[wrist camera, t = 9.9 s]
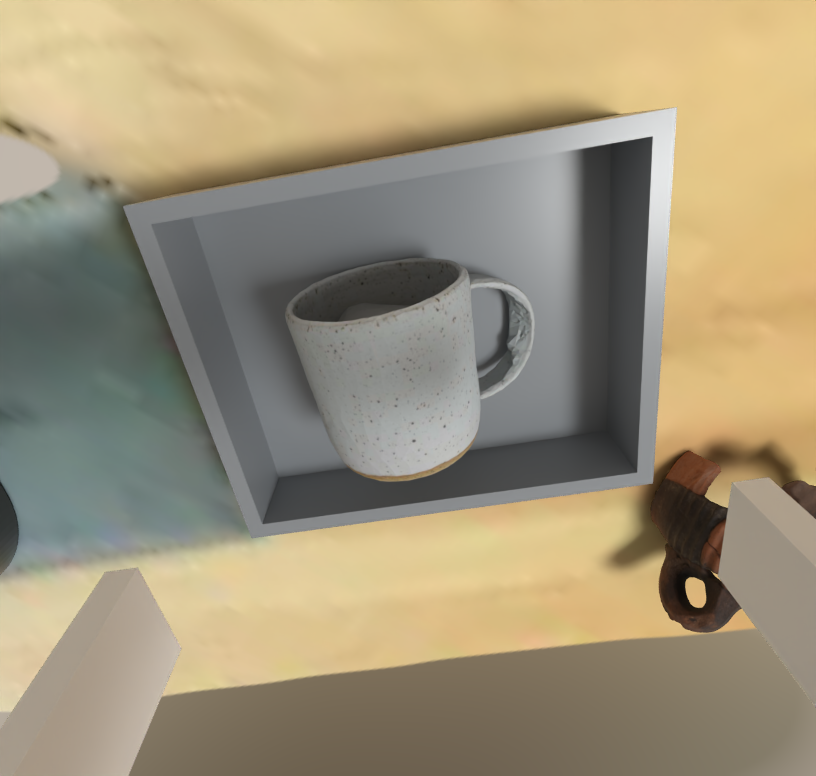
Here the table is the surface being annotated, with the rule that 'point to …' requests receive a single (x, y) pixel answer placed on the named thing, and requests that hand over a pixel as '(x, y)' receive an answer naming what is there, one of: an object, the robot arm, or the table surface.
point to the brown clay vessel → (699, 540)
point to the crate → (479, 254)
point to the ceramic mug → (402, 362)
